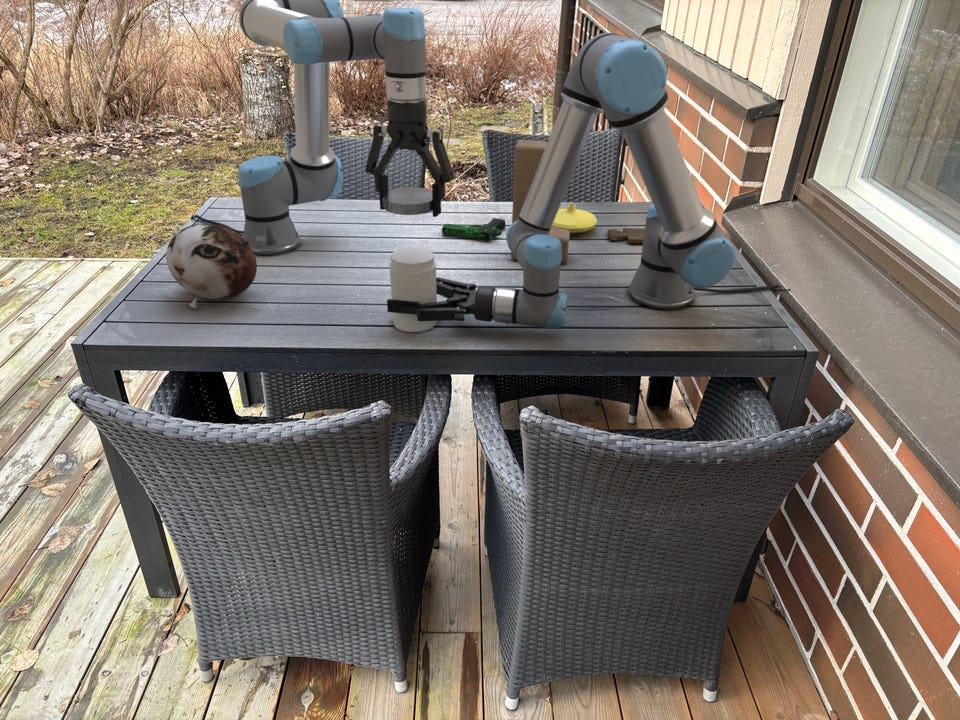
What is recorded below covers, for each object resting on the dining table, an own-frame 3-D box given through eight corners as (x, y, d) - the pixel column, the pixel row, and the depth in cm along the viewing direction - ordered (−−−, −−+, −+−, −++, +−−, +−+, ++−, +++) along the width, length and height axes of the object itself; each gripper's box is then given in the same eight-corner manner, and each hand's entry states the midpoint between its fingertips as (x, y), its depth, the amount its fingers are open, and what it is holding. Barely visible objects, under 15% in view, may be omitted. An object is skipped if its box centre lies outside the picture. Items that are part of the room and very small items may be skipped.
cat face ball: (130, 285, 161) (164, 203, 163) (192, 308, 177) (221, 233, 178) (195, 307, 151) (229, 220, 152) (254, 330, 166) (285, 250, 168)
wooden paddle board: (702, 246, 201) (693, 234, 209) (703, 241, 200) (694, 228, 208) (610, 243, 201) (606, 231, 210) (611, 237, 200) (606, 225, 209)
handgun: (511, 219, 210) (493, 234, 198) (511, 228, 211) (492, 244, 199) (461, 212, 215) (440, 226, 203) (461, 221, 217) (440, 236, 204)
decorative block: (567, 264, 188) (576, 149, 173) (510, 260, 190) (514, 146, 174) (568, 253, 194) (577, 141, 179) (513, 250, 196) (517, 138, 181)
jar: (394, 333, 155) (390, 265, 146) (391, 313, 163) (387, 247, 155) (439, 330, 156) (438, 262, 148) (434, 310, 164) (432, 245, 156)
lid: (440, 198, 150) (440, 188, 149) (434, 216, 141) (434, 205, 140) (388, 196, 151) (387, 186, 150) (378, 214, 141) (377, 203, 140)
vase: (559, 216, 220) (561, 193, 217) (605, 227, 212) (608, 204, 209) (532, 230, 209) (533, 207, 206) (580, 242, 201) (582, 218, 198)
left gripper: (341, 97, 135) (350, 209, 147) (457, 108, 129) (457, 224, 140) (360, 91, 141) (367, 198, 153) (471, 100, 135) (470, 212, 146)
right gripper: (484, 345, 146) (380, 334, 149) (502, 298, 165) (409, 289, 168) (485, 312, 142) (378, 301, 146) (503, 268, 161) (408, 259, 165)
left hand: (410, 211), depth 147 cm, fingers closed on lid, 11 cm apart
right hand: (395, 295), depth 157 cm, fingers closed on jar, 10 cm apart
